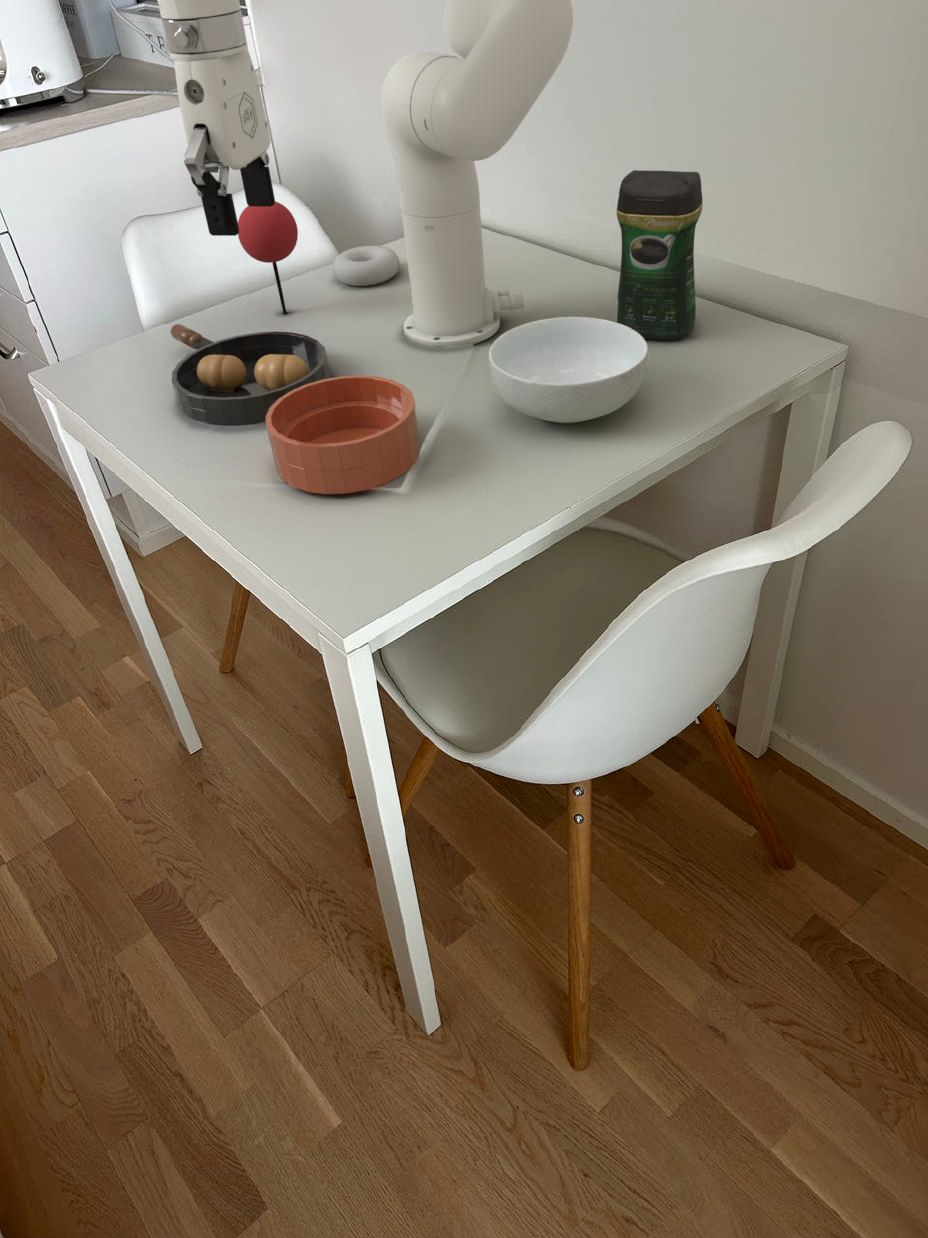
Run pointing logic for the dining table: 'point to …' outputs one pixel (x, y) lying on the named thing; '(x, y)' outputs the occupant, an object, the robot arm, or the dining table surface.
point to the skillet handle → (189, 337)
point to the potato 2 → (279, 370)
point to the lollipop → (268, 235)
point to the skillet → (250, 397)
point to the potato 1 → (221, 372)
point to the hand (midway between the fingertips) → (243, 219)
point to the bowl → (344, 434)
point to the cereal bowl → (568, 367)
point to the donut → (365, 265)
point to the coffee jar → (658, 252)
